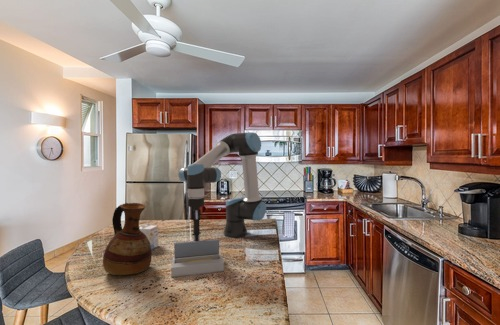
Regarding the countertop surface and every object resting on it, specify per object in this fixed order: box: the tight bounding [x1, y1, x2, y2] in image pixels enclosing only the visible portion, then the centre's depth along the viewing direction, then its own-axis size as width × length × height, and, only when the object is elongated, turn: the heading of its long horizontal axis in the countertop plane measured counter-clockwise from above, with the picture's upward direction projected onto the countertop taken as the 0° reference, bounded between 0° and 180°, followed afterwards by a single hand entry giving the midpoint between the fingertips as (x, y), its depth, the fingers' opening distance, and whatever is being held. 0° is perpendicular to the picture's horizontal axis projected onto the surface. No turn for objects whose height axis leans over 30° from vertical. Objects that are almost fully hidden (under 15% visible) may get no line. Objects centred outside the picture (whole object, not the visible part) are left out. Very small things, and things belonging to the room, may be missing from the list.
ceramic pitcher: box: [102, 202, 153, 276], centre depth 119 cm, size 20×20×30 cm
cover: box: [173, 238, 220, 259], centre depth 123 cm, size 20×8×1 cm
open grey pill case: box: [170, 251, 225, 278], centre depth 121 cm, size 22×14×4 cm, turn 103°
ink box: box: [139, 222, 159, 251], centre depth 151 cm, size 9×8×13 cm
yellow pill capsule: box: [182, 259, 213, 263], centre depth 122 cm, size 15×3×3 cm
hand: (196, 248), depth 125 cm, fingers closed
